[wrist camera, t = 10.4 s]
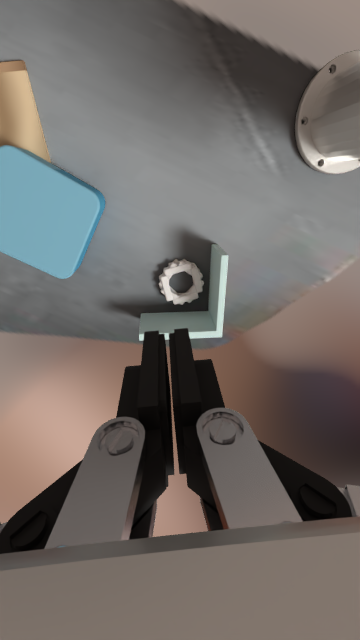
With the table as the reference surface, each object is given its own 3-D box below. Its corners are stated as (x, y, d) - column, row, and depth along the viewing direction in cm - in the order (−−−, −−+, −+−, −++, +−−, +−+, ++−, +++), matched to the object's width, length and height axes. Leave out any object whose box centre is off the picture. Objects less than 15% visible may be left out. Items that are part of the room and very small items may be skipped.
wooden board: (24, 62, 31) (22, 60, 30) (68, 230, 39) (67, 230, 38) (-68, 69, 30) (-72, 68, 30) (-4, 237, 39) (-6, 238, 38)
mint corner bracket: (216, 243, 42) (228, 255, 35) (212, 314, 47) (221, 337, 41) (136, 244, 41) (133, 257, 34) (141, 317, 47) (139, 340, 40)
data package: (16, 143, 34) (-9, 233, 38) (-3, 137, 30) (-29, 239, 34) (109, 196, 37) (76, 273, 41) (104, 198, 33) (68, 283, 37)
